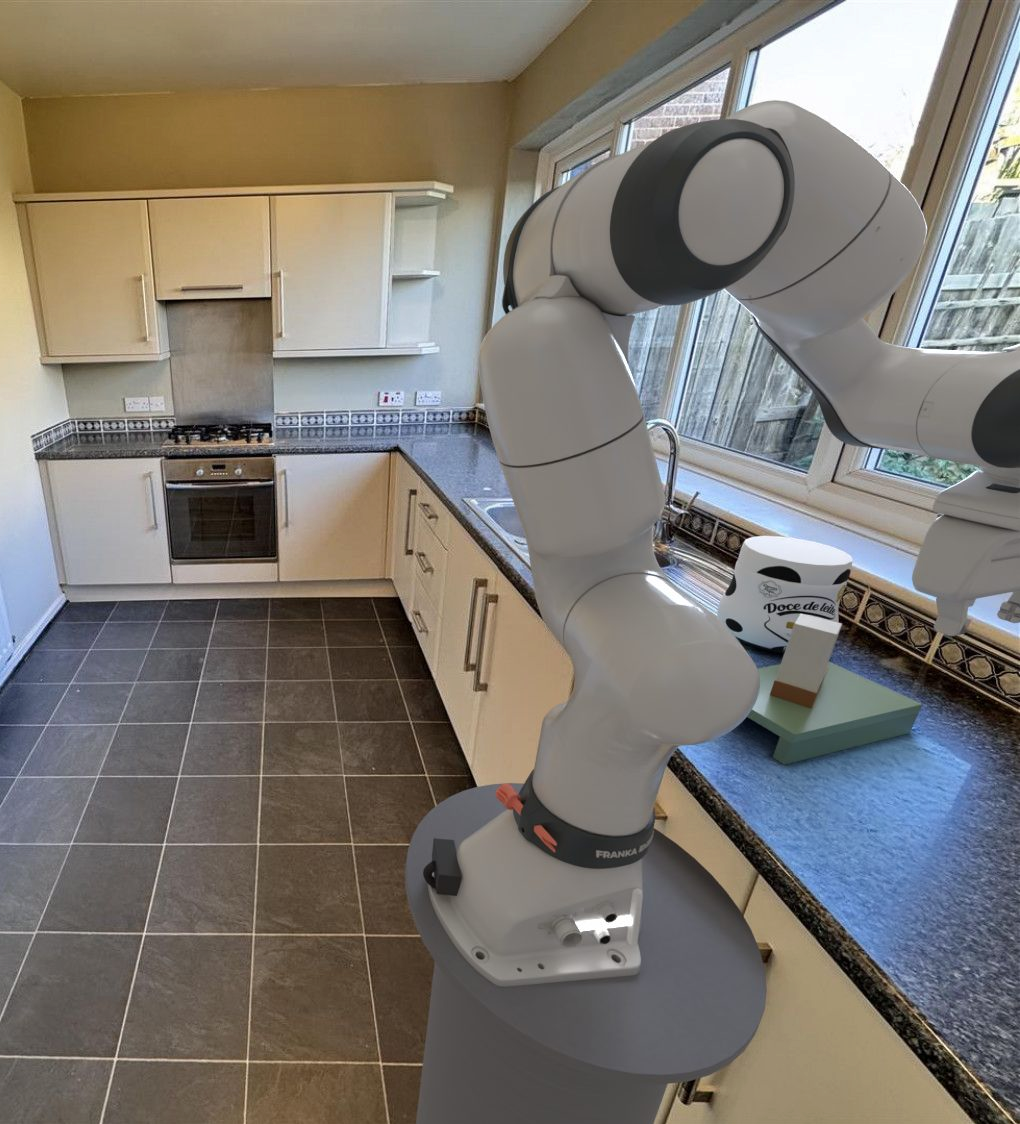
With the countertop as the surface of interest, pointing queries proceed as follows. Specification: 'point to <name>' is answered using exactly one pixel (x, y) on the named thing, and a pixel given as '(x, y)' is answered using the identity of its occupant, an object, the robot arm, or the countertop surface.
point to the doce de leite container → (782, 588)
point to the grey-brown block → (805, 660)
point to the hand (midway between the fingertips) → (980, 626)
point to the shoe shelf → (832, 715)
